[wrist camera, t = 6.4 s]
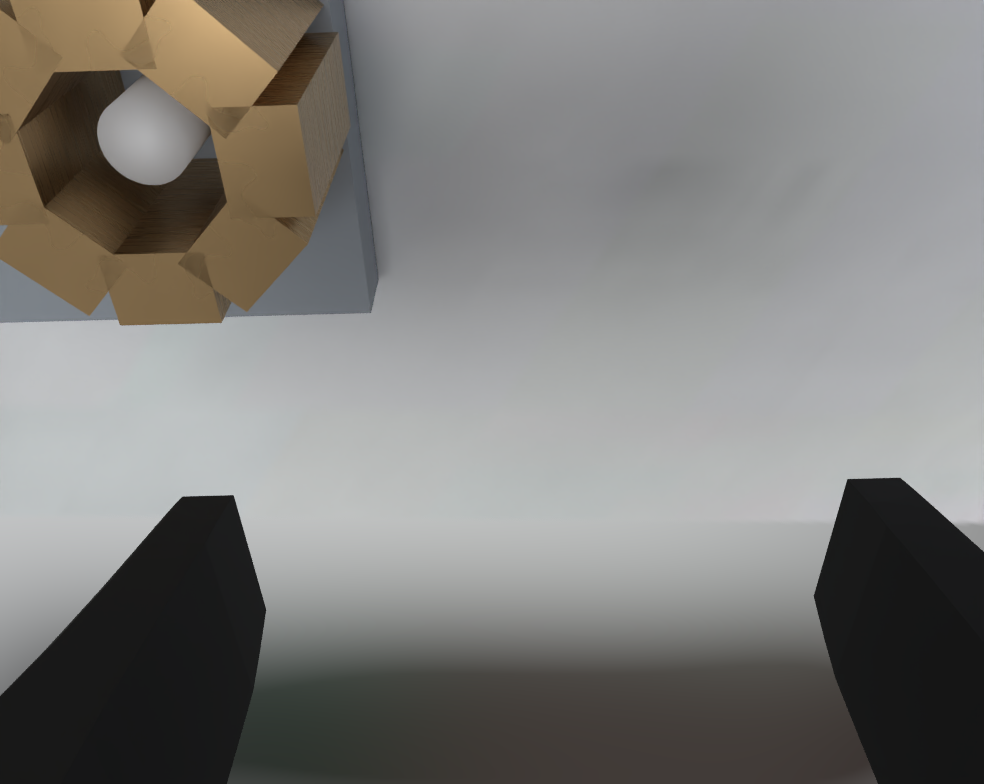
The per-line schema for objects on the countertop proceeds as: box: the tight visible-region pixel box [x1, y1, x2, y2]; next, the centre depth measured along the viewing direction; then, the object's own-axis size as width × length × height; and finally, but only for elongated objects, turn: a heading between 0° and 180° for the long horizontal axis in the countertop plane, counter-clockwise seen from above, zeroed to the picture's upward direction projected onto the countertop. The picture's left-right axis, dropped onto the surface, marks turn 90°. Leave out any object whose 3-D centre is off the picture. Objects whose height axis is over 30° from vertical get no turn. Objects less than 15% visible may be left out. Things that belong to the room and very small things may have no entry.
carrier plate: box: [0, 0, 378, 323], centre depth 15 cm, size 10×10×5 cm
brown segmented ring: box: [0, 0, 351, 325], centre depth 14 cm, size 5×5×4 cm
